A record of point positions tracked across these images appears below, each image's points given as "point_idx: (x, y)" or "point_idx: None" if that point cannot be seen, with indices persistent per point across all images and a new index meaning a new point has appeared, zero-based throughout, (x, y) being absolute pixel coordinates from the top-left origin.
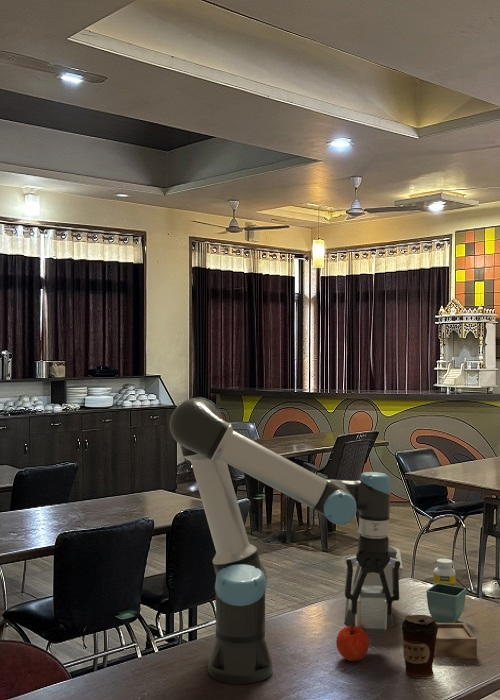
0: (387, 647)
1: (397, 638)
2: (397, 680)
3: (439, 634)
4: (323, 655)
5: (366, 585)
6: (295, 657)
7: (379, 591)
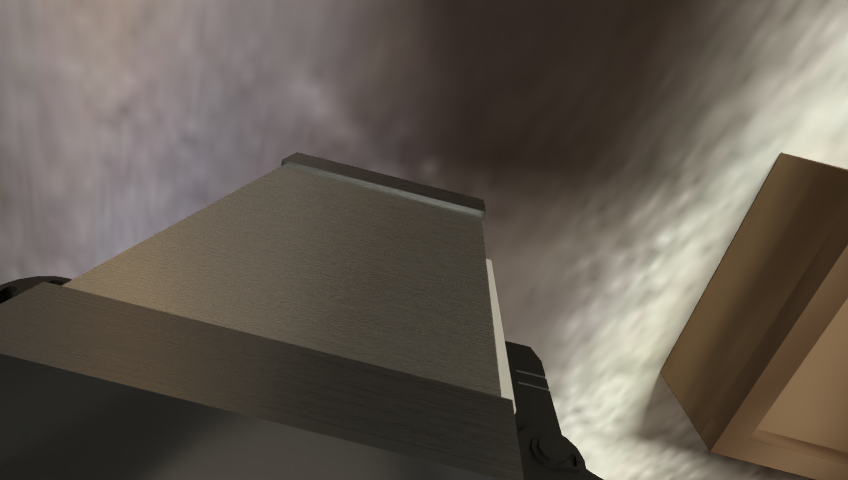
0: (508, 193)
1: (648, 63)
2: None
3: (844, 357)
4: (142, 213)
5: (144, 395)
6: (8, 204)
7: None
